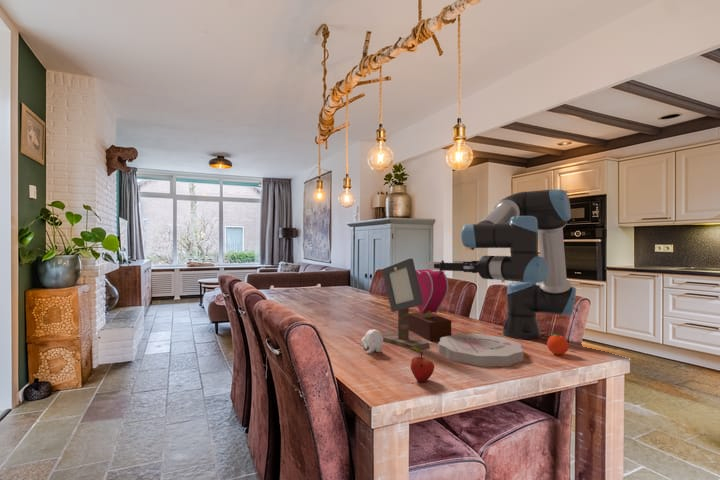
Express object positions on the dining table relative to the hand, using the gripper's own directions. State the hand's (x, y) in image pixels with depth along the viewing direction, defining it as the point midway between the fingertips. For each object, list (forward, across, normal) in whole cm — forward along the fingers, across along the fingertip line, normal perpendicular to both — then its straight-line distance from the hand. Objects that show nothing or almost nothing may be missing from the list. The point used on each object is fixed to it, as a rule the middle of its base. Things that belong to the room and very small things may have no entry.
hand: (441, 264), depth 136 cm
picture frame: (+17, -1, -18) cm, 24 cm away
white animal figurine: (+21, -16, -33) cm, 42 cm away
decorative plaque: (-6, +14, -33) cm, 36 cm away
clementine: (-24, +35, -32) cm, 53 cm away
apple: (-12, -24, -33) cm, 42 cm away
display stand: (+22, +2, -32) cm, 39 cm away
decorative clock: (+23, +20, -32) cm, 45 cm away
